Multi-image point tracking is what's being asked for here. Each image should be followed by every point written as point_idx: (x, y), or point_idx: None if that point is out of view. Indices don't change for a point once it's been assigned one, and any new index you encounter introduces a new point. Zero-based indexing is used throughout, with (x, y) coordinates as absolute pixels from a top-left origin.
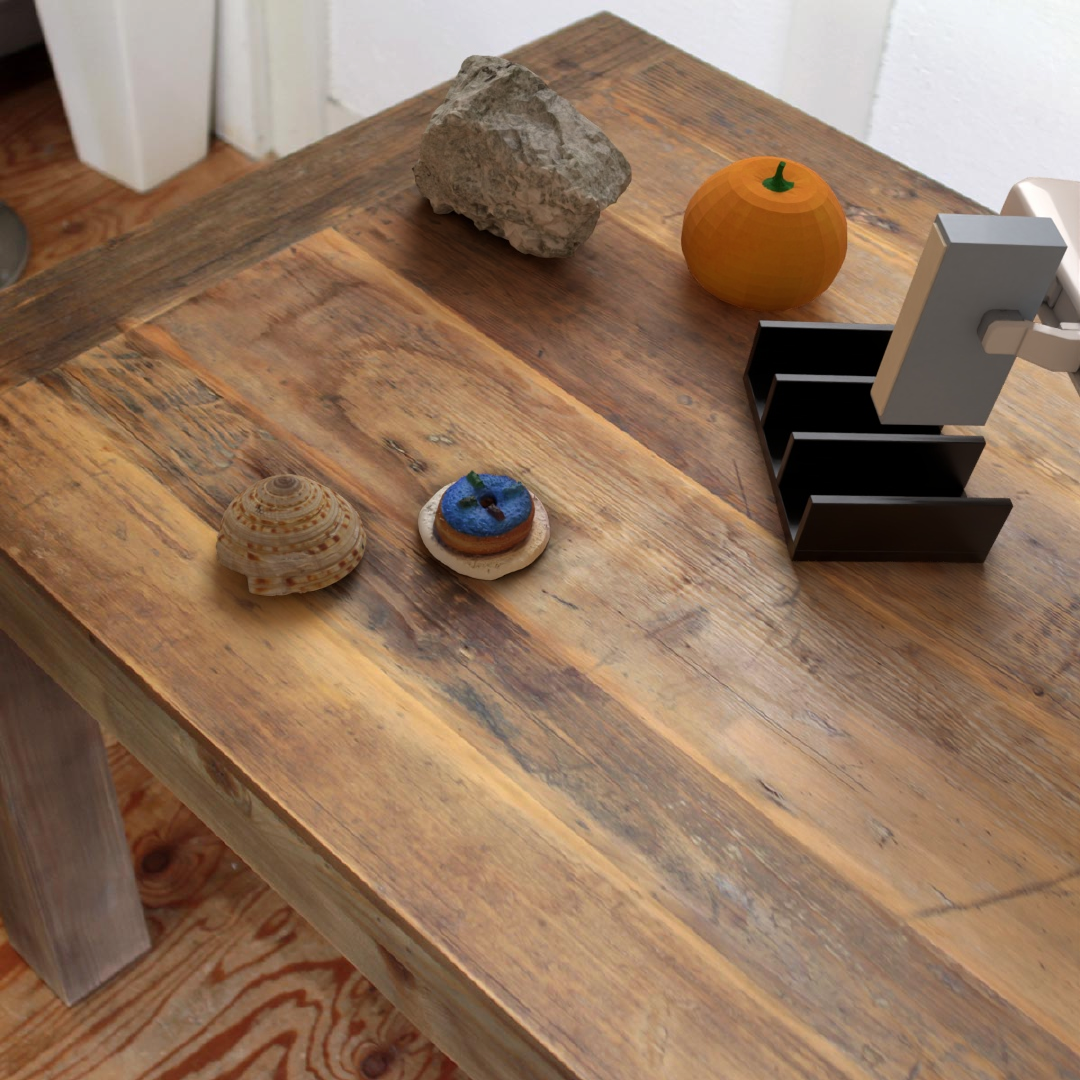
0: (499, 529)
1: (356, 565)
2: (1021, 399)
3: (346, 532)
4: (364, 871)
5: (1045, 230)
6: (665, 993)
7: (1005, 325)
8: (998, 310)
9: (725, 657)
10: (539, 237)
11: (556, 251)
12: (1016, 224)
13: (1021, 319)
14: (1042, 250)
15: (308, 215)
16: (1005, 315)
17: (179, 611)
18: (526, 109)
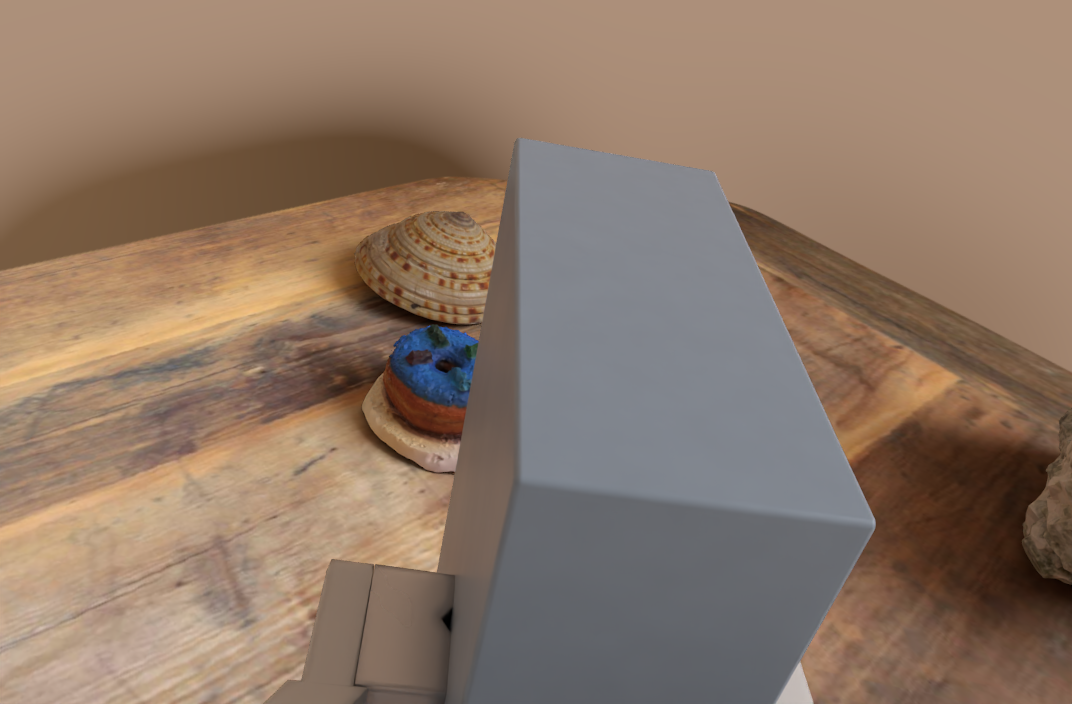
0: (396, 363)
1: (389, 301)
2: None
3: (419, 278)
4: (12, 270)
5: (690, 428)
6: None
7: (333, 588)
8: (444, 602)
9: (135, 630)
10: (1039, 516)
11: (1030, 545)
12: (711, 331)
13: (371, 679)
14: (509, 394)
15: (970, 365)
16: (408, 619)
17: (365, 227)
18: None
